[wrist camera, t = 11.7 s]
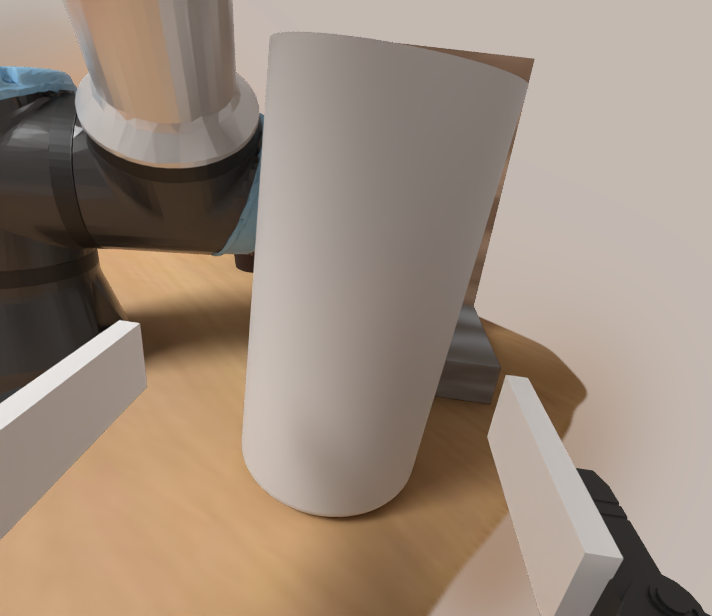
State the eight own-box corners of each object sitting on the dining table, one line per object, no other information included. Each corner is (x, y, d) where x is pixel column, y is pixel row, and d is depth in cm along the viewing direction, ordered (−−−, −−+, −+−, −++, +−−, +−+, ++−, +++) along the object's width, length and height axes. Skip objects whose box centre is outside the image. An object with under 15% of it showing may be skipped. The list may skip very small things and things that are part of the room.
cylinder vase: (375, 391, 38) (444, 90, 28) (441, 506, 28) (590, 91, 18) (234, 401, 34) (255, 47, 24) (250, 541, 23) (299, 14, 13)
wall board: (490, 404, 39) (601, 25, 27) (259, 371, 40) (267, -12, 28) (463, 327, 54) (528, 61, 42) (296, 305, 55) (311, 37, 42)
